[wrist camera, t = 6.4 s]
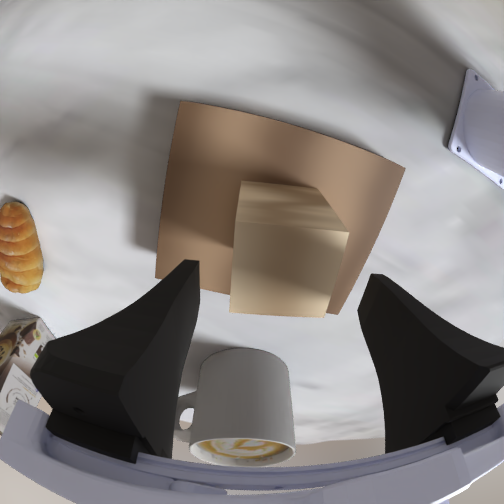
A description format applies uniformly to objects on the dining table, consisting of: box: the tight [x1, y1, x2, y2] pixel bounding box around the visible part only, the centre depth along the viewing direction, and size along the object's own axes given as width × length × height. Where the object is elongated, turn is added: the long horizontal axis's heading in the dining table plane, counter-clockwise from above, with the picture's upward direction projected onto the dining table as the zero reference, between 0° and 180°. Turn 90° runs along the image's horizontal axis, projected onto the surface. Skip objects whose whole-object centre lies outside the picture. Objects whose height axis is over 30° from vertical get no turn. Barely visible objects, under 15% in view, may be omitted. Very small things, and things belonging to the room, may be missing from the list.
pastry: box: [0, 201, 44, 293], centre depth 19 cm, size 9×7×4 cm
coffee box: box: [0, 318, 55, 436], centre depth 21 cm, size 9×6×16 cm
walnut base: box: [155, 101, 406, 315], centre depth 18 cm, size 14×12×3 cm
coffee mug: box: [173, 348, 296, 467], centre depth 25 cm, size 13×10×10 cm
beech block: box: [229, 181, 349, 318], centre depth 14 cm, size 4×4×6 cm
